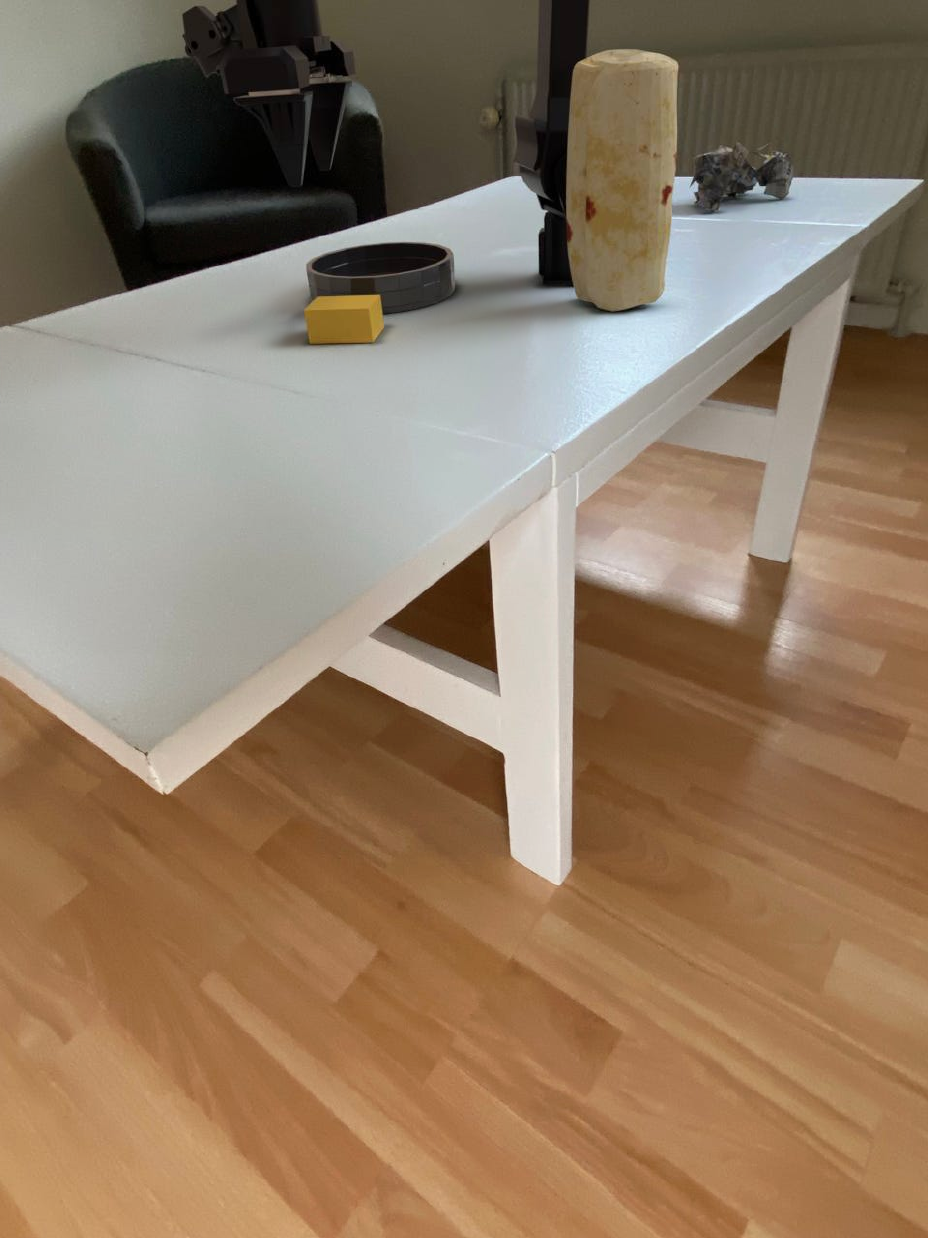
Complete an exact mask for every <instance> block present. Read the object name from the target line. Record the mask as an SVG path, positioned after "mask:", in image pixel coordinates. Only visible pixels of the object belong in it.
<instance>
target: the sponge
mask: <svg viewBox="0 0 928 1238" xmlns="http://www.w3.org/2000/svg"><path fill="white" fill-rule="evenodd" d="M303 313H304V319H305V323H306V325H305V326H306V330H307V335H308V341H309V344H310V345H316V344H318V345H319V344H320V345H321V344H364V343H367V344H368V343H372V344H373V343H374V342H375V341H376V340H377V338H378V337H379V336H380V334H381V332H382V331H383V330H384V328H385V323H384V322H385V321H384V316H383V315H384V314H382V306H381V298H380V295H352V296H319V297H317V298H316V299H315V300H314V301H313V302H312V301H311V302H310V304H308V305H307V307H306V308H304V309H303Z"/></svg>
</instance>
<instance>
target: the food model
mask: <svg viewBox="0 0 928 1238" xmlns="http://www.w3.org/2000/svg"><path fill="white" fill-rule="evenodd" d="M679 70H680V66H679V64H678V61H677V60H675V59H674V58H672V57H670V56H668V55H665V54H662V53H659V52H652V51H646V50H641V49H635V48H633V49H631V48H622V49H621V48H619V49H607V50H604V51H600V52H597V53H594V54H592V55H590V56H588V57H586V59H584V60H582V61H580V62H578V63H577V64H576V65H575V67H574V70H573V76H572V87H571V99H570V113H569V128H568V148H567V183H566V220H567V244H568V257H569V263H570V270H571V275H572V280H573V284H572V285H573V288H574V292H575V295H576V298H577V299H578V300H580V301H585V302H589V303H593V304H594V305H595V306H596V308H597V309H601V310H604V311H608V312H611V313H614V312H619V311H624V310H628V309H632V308H635V307H638V306H642V305H645V304H652V303H655V302H657V301H658V300H659V299H660V298H661V296H662V295H663V293H664V291H665V287H666V268H667V259H668V253H669V246H670V239H671V230H672V218H673V217H672V215H673V213H672V212H673V197H674V187H675V177H676V176H675V175H676V170H677V169H676V167H677V152H678V151H677V148H678V147H677V146H678V115H677V114H678V112H677V109H678V106H677V105H678V103H677V102H678V101H677V100H678V82H679V72H680V71H679Z"/></svg>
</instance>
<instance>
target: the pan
mask: <svg viewBox="0 0 928 1238" xmlns="http://www.w3.org/2000/svg"><path fill="white" fill-rule="evenodd" d="M454 256H455V255H454V252H453V250H452V249H451V248H449V247H447V246H444V245H441V244H437V243H432V242H431V243H430V242H423V241H422V242H418V241H392V242H391V241H389V242H375V243H367V244H361V245H355V246H354V245H353V246H349V247H343V248H340V249H336V250H332V251H328V252H325V253H323V254H321V255H318V256H316V257H313V258H311V260H309V261H308V262H307V263H306V264H305V267H306V268H305V269H306V277H307V282H308V288H309V293H310V298H311V303H312V302H313V301H314V300H315V299H316V298H317V297H319V296H352V295H380V298H381V306H382V314H383V315H385V314H393V313H394V314H396V313H402V312H408V311H412V310H413V311H414V310H417V309H421V308H425V307H428V306H432V305H435V304H437V303H439V302H442V301H444V300H446V299H447V298H449V297H450V296H452V295H453V294H454V292H455V290H456V273H455V271H456V270H455V257H454Z"/></svg>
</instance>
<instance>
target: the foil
mask: <svg viewBox="0 0 928 1238" xmlns="http://www.w3.org/2000/svg"><path fill="white" fill-rule="evenodd" d="M770 144H771V142H768V143H767V144H765V145H763V146H761V147H759V148H757V150H758V151H761V150H763V149H764V148H766V147H767V146H768V145H770ZM749 154H754V155H757V156H759V157H762V158H765V160H763V165H761V166H760V167H759V168H756V167H754V166H752V165H751V164H750V162H749V161H748V159H747V157H748V155H749ZM788 159H789V161H788ZM692 161H693V164H694V175H693V177H692V179H691V180H692V181H691V183H690V186H689V188H691V187H692V186H694V184H695V183H696V184H697V191H694V189H693V194H694V197H695V201H694V204H696V205H699V207H702V208H704V209H707V210H709V211H707V214H711V213H712V214H713V213H715V212H718V211H719V209H720V207H721V204H722V202H723V199H724V198H725V196H727V197H728V198H730V199H733V200H735V199H736V198H737V195H743V194H744V195H745V194H746V193H747V192H750V191H753V190H754V187H756V185H757V183H758V186H759V187H765V188H764V191H763V195H766V196H772V197H774V198H777V199H779V200H785V198H786V197H787V196H788V195H789V193H790V191H789V190H790V188H791V185H792V183H793V182H792V180H793V178H794V176H795V171H794V169H795V168H794V166H793V164H792V162H791V159H790V157H789V154H788V152H787V151H782V152H780V151H775V150H772V151H771V155H770V154H764V153H763V152H761V153H759V152H753V151H749V150H748V149H747V148H746V147H744V146H743V144H741V143H740V142H739V141H736V142H735V143H734V145H733V148H731V147H730V144H727V146H724V145H723V144H720V145H719V146H718V148H717V149H714V150H711V151H709V152H706V153H702V154H698V155H696V156H695V155H694V156H693V158H692Z"/></svg>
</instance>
